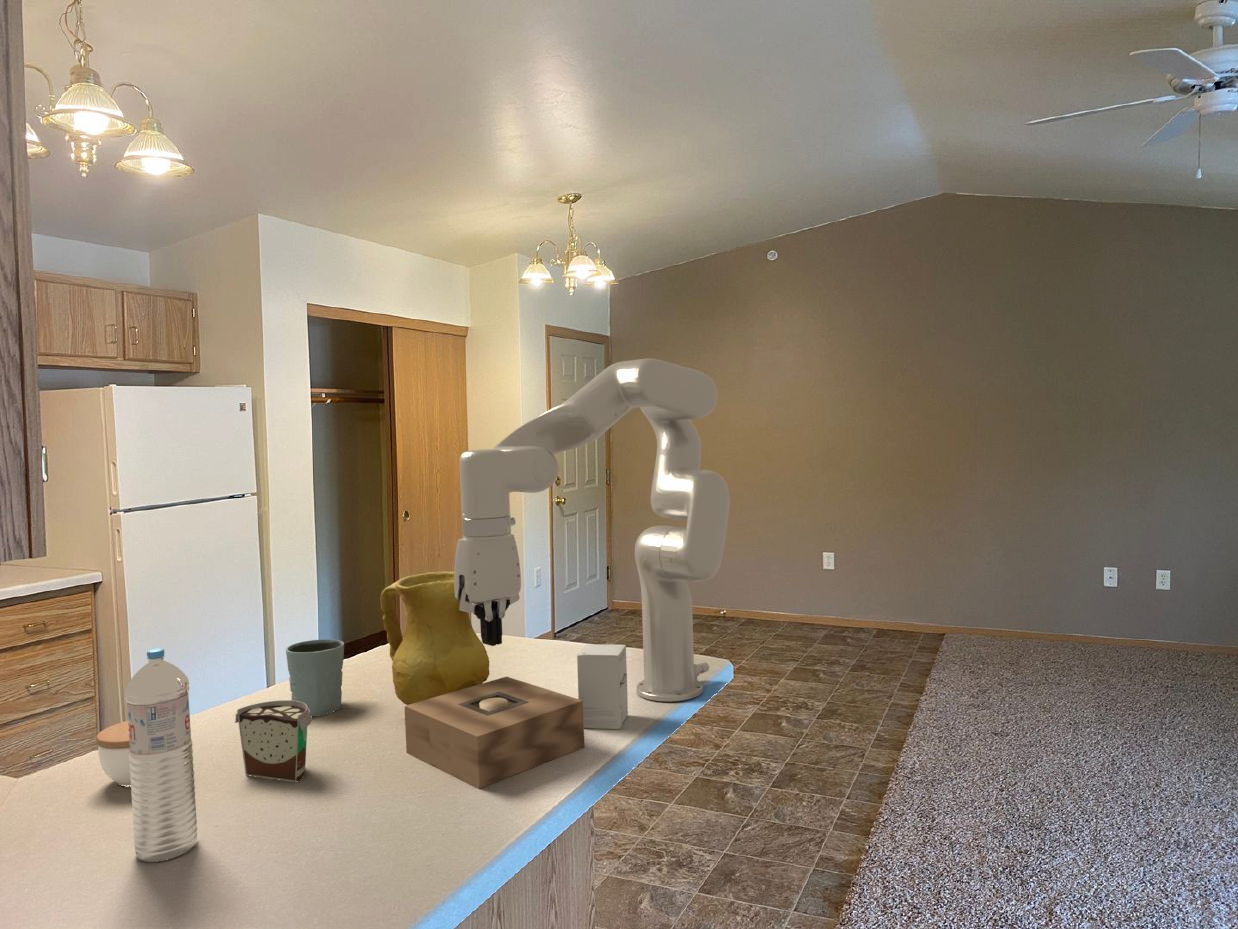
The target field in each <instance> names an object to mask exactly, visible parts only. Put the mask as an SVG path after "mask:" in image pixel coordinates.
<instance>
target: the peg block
mask: <svg viewBox="0 0 1238 929" xmlns="http://www.w3.org/2000/svg"><path fill="white" fill-rule="evenodd" d="M489 698H504V699H506V700H507V702H508V706H505V707H502V708H499V709H496V710H493V711H486V710H484V709H481V708H480V706H479V703H480V702H481V701H482V700H485V699H489ZM404 724H405V725H404V726H405V728H404V730H405V744H406V748H405V749H406V750H405V751H406V754H409V755H410V756H413V757H415V758H417V759H418V760H421V761H423V762H424V763H427V764H428V765H431V766H432V767H435V768H437V769H439V770H440V771H442V772H445V773H447V774H448V775H451V776H453V777H455V778H457V779H458V780H461V781H462V782H465V783H466V784H469V785H471V786H473V787H474V788H477V789H479V790H480V789H482V788H485V787H487V786H490V785H493V784H495V783H498V782H500V781H503V780H505V779H508V778H510V777H513V776H515V775H518V774H520V773H523V772H525V771H528V770H531V769H533V768H535V767H538V766H540V765H543V764H545V763H549V762H551V761H554V760H555V759H559V758H560V757H561V758H562V757H563V756H566V755H568V754H571V753H574V752H576V751H578V749H579V750H581V749H584V748H585V728H584V721H583V700H579V699H578V698H575V697H572V696H570V695H566V694H563V693H561V692H556V691H553V690H550V689H549V688H544V687H541V686H539V685H538V686H537V685H536V684H531V683H529V682H525V681H523V680H519V679H516V678H513V677H510V676H504V677H501V678H500V677H499V678H497V679H493V680H490V681H485V682H483V683H482V684H479V685H475V686H472V687H469V688H465V689H462V690H458V691H455V692H451V693H448V694H444V695H441V696H437V697H434V698H430V699H427V700H424V701H420V702H417V703H413V704H410V705H406V704H405V705H404ZM580 748H581V749H580Z"/></svg>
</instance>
